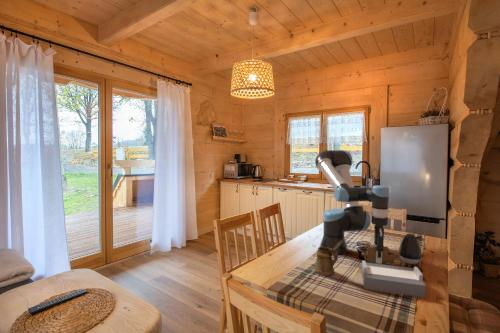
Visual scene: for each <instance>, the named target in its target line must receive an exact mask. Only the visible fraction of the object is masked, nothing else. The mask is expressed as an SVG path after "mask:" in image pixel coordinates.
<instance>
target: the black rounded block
mask: <svg viewBox="0 0 500 333" xmlns="http://www.w3.org/2000/svg"><path fill="white" fill-rule="evenodd" d="M422 238H423V236H422V235H417V236H416V235H415V234H414V233H410V232H409V233H406V234H404V235H403V237H402V239H401V241H400V244H399V247H398V248H399V249H398V255H399V256H398V257H399V258H400V260H401V261H403V263H405V264H409V265H417V264H418V263H420V261H421V259H422V256H423V255H422V249H421V245H420V242H419V239H422Z"/></svg>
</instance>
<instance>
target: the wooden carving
mask: <svg viewBox="0 0 500 333" xmlns="http://www.w3.org/2000/svg"><path fill="white" fill-rule="evenodd" d="M375 249H377V245H375V244H371V245H367V247H366V250H365V251H364V250H363V251H361V252H360V253H361V255H362V256H363V257H364V261H367V262H368V263H374V264H379V263H376V251H375ZM396 259H397V255H396V254H394V253H393V252H391V251H390V248H389V247H388V246H385V245H383V252H382V265H385V264H389V265H390V264H394V263H395V261H396Z"/></svg>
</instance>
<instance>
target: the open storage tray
mask: <svg viewBox="0 0 500 333" xmlns="http://www.w3.org/2000/svg"><path fill="white" fill-rule="evenodd" d="M360 269H361V271H360V273H361V278H362V282H363V287H364V290H368V291H369V290H370V291H377V292H382V291H383V293H389V292H390V294H395V293H399V294H398V295H402V294H405V295H404V296H408V295H412V296H411V297H415V296H417V297H416V298H421V299H422V298H424V299H426V292H427V291H426V288H427V286H426V284H425V282H424V280H423V277H424V275H423V273H422V272H421V270H420V269H419V268H418V266H414V267H406V266H399V265H398V266H396V265H390V264H389V265H388V264H374V263H371V262H366V260H362V261H361V268H360Z"/></svg>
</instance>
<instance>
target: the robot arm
mask: <svg viewBox="0 0 500 333" xmlns="http://www.w3.org/2000/svg"><path fill="white" fill-rule="evenodd" d="M314 161H315V162H314V164H315V167H316V168H317V170H318V171H320V172H322V174H323V175H324V177H325V179H327V181H328V182H329V184H330V185H331V187H332V189H334V191H333V196H334V199H335V200H336V202H340V203H343V206H344V207H343V208H331V209H327V210H326V211H324V213H323V218H322V219H323V220H322V221H323V235H322V239H321V240H320V245H319V247H328V248H330V249H332V248H333V247H334V245H335V244H336V243H338V242H339V241H340V240H343V242H342V243H341V244H340V246H339V247H338V248H337V249H336V251H337V254H338V255H344V254H346V253H347V252H348V246H347V242H346V240H345V233H348V232H364V231H367V230H368V229H369V228H370V226H371V224H372V225H374V244H373V245H377V249H375V251H376V263H379V264H382V252H383V246H384V238H385V228H384V226H388V224H389V222H388V221H389V218H388V216H389V214H388V213H390V210H389V203H390V202H389V199H390V190H389V187H388V186H386V185H377V184H376V185H373V186H372V187H370V186H367V185H361V186H357V187H356V186H354V183H353V182H354V181H353V179H352V176H351V171H350V170H351V167H352V165H353V155H352V154H351V152H350V151H349V150H344V149H339V150H335V149H334V150H327V149H325V150H322V151H320V152H319V153H318V154H317V155H316V158H315V160H314ZM360 202H369V203H371V212H370V213H371V215H370V213H369V212H368V211H367V210H365V209H364V207H363V206H362V205H360ZM382 265H383V264H382Z"/></svg>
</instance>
